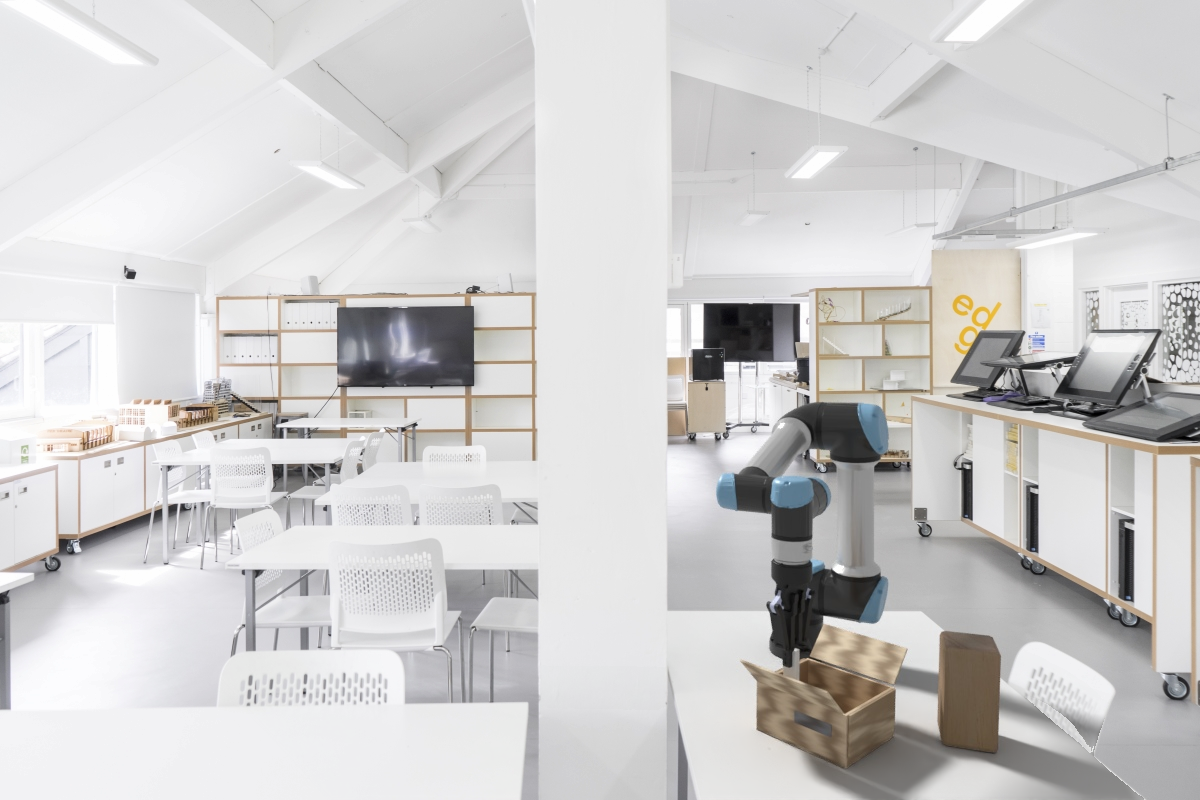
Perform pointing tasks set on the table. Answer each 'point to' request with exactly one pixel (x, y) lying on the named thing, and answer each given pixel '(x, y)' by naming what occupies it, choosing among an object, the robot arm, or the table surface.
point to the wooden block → (969, 691)
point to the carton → (829, 714)
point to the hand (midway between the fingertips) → (791, 681)
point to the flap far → (859, 653)
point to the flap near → (792, 687)
